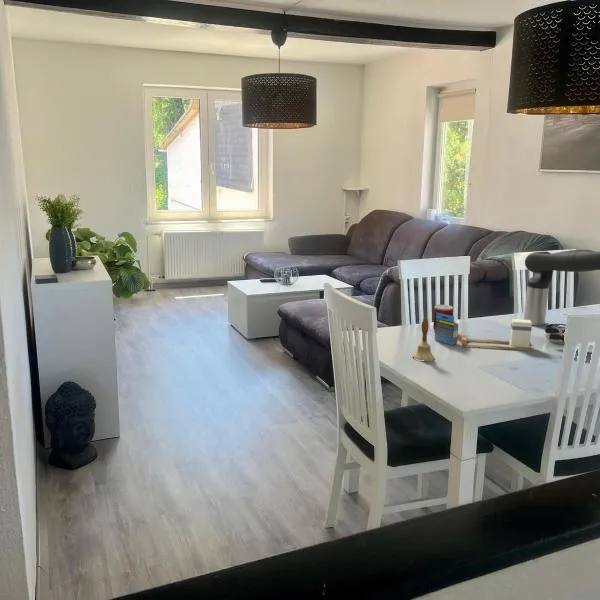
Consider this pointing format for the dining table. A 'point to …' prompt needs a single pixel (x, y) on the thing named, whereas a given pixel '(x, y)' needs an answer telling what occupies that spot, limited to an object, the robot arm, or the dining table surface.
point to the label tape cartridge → (446, 329)
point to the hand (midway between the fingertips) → (547, 333)
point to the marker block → (520, 333)
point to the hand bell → (424, 345)
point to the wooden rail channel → (464, 344)
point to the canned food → (442, 312)
